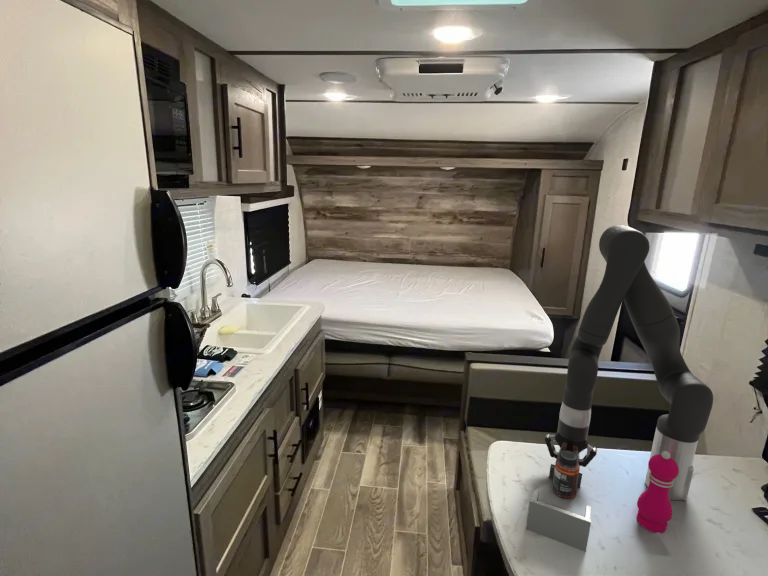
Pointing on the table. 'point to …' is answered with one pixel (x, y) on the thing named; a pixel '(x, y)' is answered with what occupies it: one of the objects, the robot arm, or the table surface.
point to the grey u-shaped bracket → (558, 523)
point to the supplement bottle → (566, 475)
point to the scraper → (551, 475)
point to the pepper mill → (657, 494)
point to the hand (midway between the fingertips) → (566, 472)
